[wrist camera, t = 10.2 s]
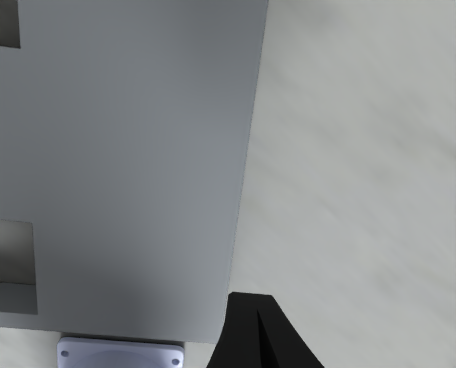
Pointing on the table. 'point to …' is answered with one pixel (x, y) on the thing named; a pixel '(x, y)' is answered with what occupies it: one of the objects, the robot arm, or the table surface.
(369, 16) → the table surface
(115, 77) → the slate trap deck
